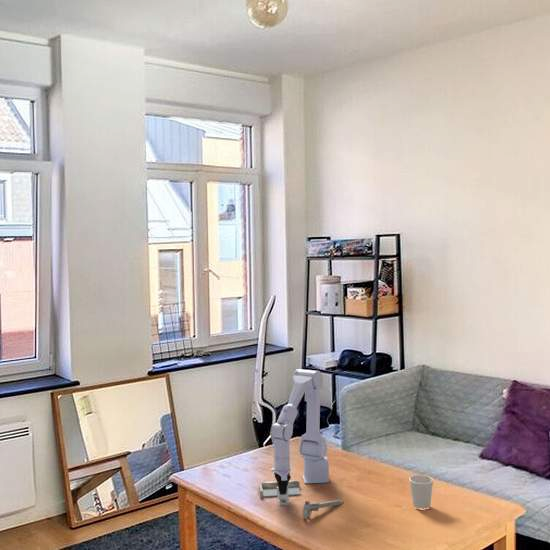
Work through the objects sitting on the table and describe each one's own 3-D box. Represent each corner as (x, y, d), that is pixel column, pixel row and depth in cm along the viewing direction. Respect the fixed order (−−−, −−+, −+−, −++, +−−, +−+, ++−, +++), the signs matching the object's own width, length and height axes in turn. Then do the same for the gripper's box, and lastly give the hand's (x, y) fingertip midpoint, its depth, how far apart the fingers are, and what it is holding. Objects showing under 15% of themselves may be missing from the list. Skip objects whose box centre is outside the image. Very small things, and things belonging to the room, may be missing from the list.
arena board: (298, 487, 251) (298, 486, 251) (301, 495, 243) (301, 493, 243) (261, 489, 250) (261, 488, 250) (263, 497, 242) (263, 496, 242)
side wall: (261, 489, 250) (261, 483, 250) (263, 497, 242) (262, 490, 242) (258, 489, 250) (258, 483, 250) (260, 497, 242) (260, 491, 242)
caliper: (305, 521, 222) (304, 502, 221) (303, 520, 222) (302, 502, 222) (343, 503, 236) (343, 485, 236) (341, 502, 237) (341, 485, 236)
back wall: (299, 486, 252) (299, 480, 252) (299, 487, 251) (299, 480, 251) (259, 488, 251) (259, 482, 251) (260, 489, 250) (260, 483, 250)
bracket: (277, 499, 241) (276, 486, 240) (288, 498, 241) (287, 486, 241) (278, 505, 235) (278, 493, 234) (290, 504, 235) (289, 492, 235)
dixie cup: (437, 505, 232) (436, 477, 231) (429, 513, 224) (429, 484, 224) (413, 500, 236) (413, 473, 235) (406, 509, 229) (405, 480, 228)
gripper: (269, 450, 246) (270, 486, 247) (272, 463, 232) (273, 501, 233) (288, 449, 247) (288, 485, 248) (292, 462, 233) (293, 500, 233)
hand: (282, 493), depth 240 cm, fingers closed on bracket
